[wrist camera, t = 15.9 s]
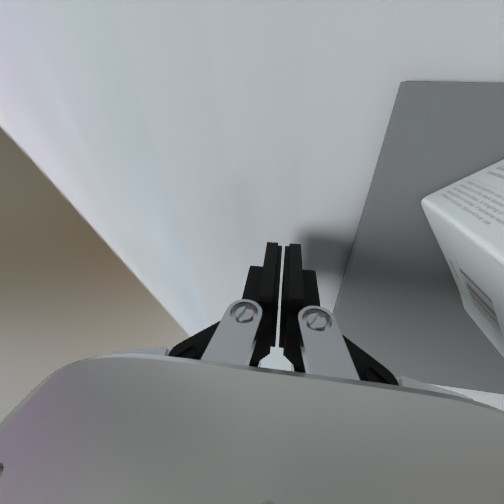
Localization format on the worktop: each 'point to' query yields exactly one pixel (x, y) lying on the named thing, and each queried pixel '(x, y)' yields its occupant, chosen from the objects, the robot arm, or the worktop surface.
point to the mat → (422, 240)
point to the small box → (474, 244)
